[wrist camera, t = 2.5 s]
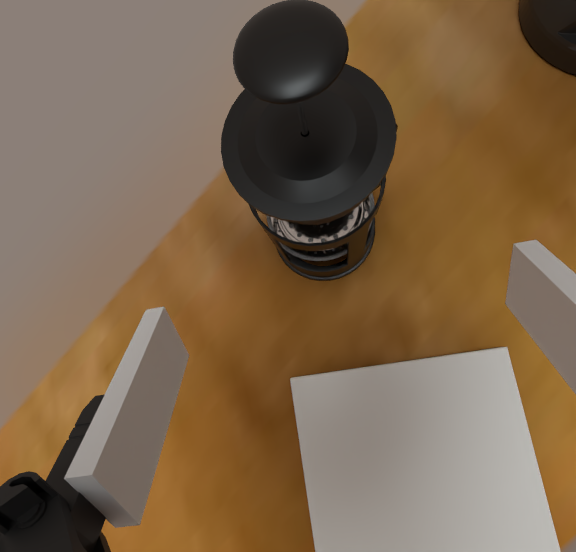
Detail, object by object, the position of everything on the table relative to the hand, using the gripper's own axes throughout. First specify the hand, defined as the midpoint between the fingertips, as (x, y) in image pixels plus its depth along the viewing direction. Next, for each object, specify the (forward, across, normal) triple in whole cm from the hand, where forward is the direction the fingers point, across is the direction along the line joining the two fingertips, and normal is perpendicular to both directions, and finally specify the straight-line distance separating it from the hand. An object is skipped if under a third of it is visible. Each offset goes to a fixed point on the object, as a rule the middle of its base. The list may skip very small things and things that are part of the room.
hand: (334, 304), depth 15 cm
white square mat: (+5, +4, -23) cm, 24 cm away
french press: (+21, 0, -8) cm, 22 cm away
